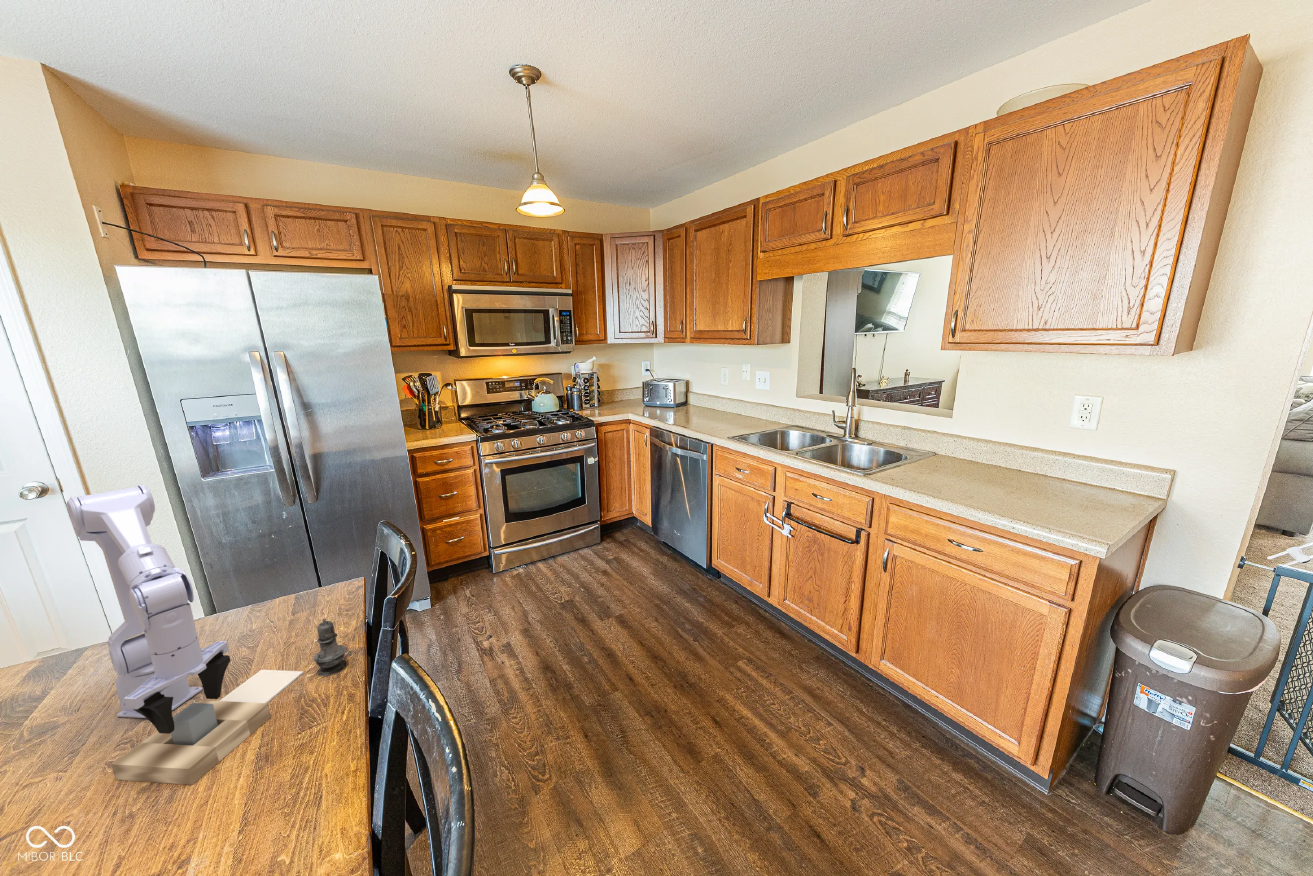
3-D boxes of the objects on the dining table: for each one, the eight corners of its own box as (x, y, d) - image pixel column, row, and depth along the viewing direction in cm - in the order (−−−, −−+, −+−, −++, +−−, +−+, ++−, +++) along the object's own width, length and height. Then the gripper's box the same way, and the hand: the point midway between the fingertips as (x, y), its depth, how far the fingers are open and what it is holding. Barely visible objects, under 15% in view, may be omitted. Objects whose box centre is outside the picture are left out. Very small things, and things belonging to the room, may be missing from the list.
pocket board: (115, 779, 76) (110, 764, 75) (204, 713, 89) (201, 700, 89) (192, 784, 74) (188, 769, 74) (270, 717, 88) (268, 703, 87)
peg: (176, 755, 80) (167, 720, 79) (200, 736, 84) (192, 702, 83) (197, 756, 80) (188, 721, 78) (220, 737, 84) (212, 704, 82)
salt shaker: (331, 678, 98) (323, 627, 96) (309, 675, 99) (299, 625, 97) (354, 660, 104) (346, 612, 102) (333, 657, 105) (324, 609, 103)
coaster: (215, 705, 91) (214, 704, 91) (261, 671, 101) (261, 669, 101) (261, 708, 90) (261, 706, 90) (303, 673, 100) (303, 671, 100)
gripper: (145, 674, 71) (165, 750, 73) (237, 620, 85) (251, 685, 87) (104, 673, 71) (125, 748, 74) (202, 619, 85) (217, 683, 88)
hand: (191, 714), depth 81 cm, fingers open, 7 cm apart
